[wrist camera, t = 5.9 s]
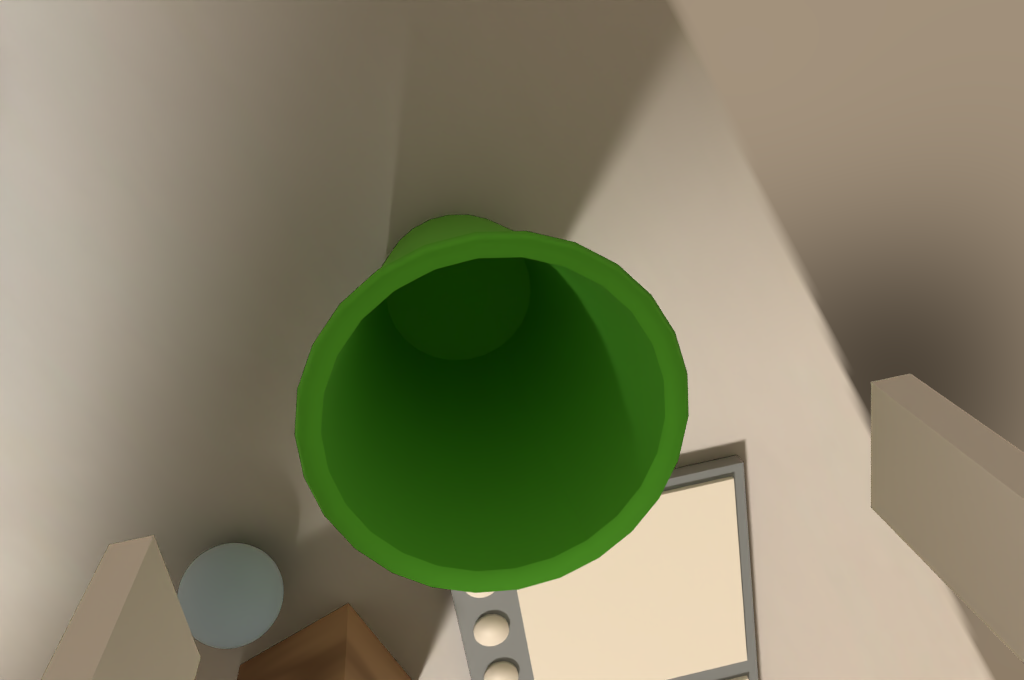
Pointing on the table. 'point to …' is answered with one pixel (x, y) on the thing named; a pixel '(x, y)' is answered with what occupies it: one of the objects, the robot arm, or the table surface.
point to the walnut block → (326, 653)
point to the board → (635, 598)
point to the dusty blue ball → (231, 595)
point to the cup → (491, 408)
